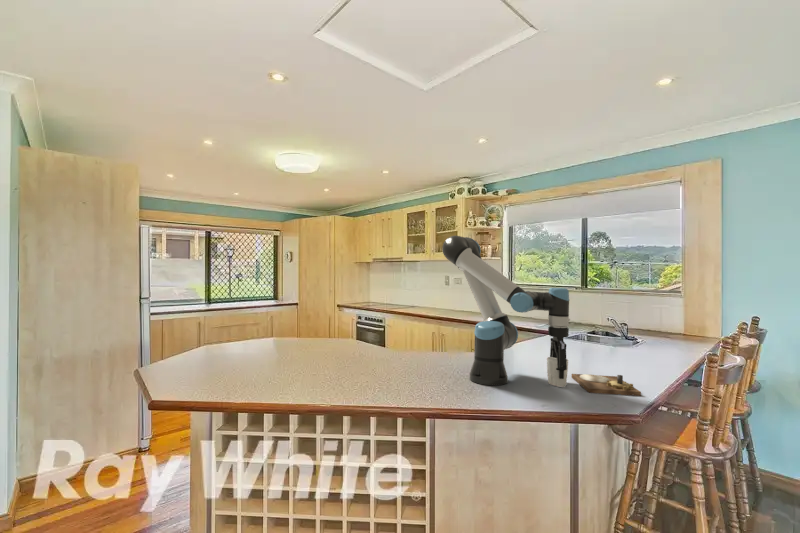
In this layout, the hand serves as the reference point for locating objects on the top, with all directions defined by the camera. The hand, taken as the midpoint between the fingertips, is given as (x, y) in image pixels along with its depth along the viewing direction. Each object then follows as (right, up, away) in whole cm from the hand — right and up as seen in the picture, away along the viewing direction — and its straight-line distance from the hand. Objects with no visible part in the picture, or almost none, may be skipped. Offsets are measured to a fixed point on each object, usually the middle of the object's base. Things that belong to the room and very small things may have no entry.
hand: (557, 383), depth 151 cm
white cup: (0, -1, 0) cm, 1 cm away
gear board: (+18, -1, -1) cm, 18 cm away
